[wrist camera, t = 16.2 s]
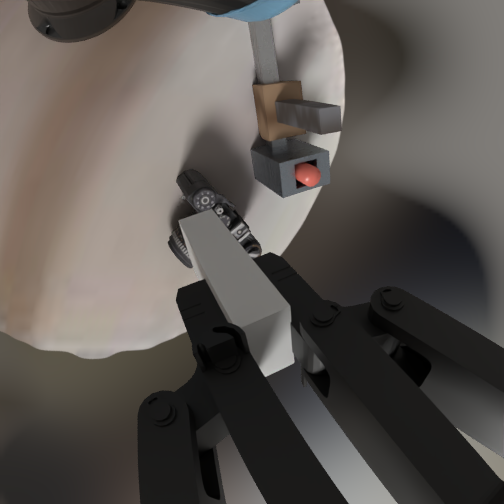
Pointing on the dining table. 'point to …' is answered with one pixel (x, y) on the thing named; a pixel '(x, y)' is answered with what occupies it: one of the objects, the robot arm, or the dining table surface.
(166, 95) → the dining table surface
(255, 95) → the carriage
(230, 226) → the camera
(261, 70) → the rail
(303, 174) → the plunger
